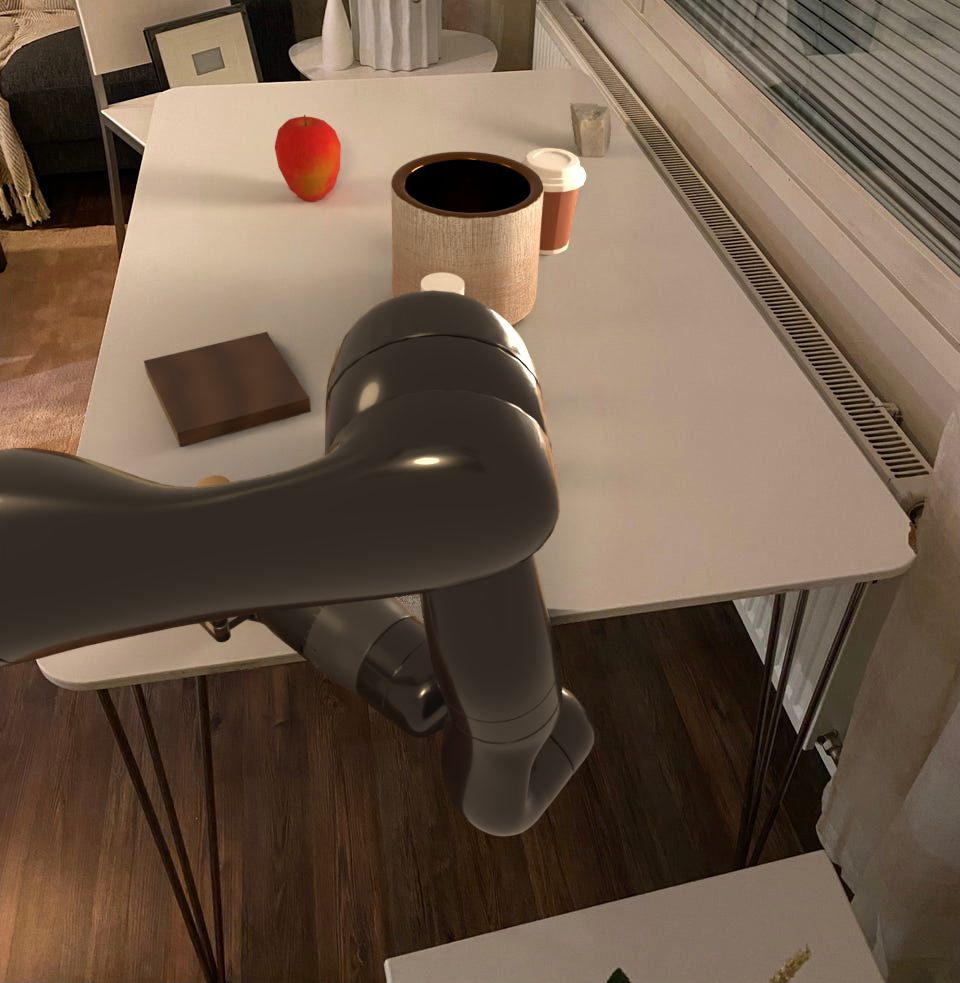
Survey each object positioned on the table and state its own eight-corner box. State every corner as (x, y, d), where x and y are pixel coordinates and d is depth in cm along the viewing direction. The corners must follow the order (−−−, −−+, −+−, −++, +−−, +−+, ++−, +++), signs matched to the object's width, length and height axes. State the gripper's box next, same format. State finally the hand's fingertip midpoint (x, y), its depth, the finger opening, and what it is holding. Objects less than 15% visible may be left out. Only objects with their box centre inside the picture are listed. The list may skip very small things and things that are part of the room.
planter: (436, 356, 112) (437, 231, 101) (368, 285, 123) (363, 166, 112) (562, 318, 119) (576, 197, 108) (488, 254, 130) (493, 139, 119)
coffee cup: (588, 238, 134) (598, 153, 126) (561, 266, 128) (570, 179, 120) (528, 222, 137) (535, 138, 129) (500, 248, 131) (505, 163, 123)
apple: (356, 197, 141) (352, 115, 133) (308, 217, 136) (300, 132, 128) (315, 177, 145) (309, 96, 137) (267, 195, 140) (257, 112, 132)
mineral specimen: (554, 140, 157) (569, 90, 152) (604, 151, 159) (620, 102, 154) (562, 157, 152) (578, 106, 147) (613, 168, 154) (631, 118, 149)
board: (180, 447, 98) (177, 433, 97) (146, 373, 107) (143, 360, 106) (311, 411, 103) (309, 397, 102) (268, 344, 112) (266, 331, 111)
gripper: (412, 538, 73) (267, 443, 81) (266, 651, 65) (119, 533, 73) (413, 604, 78) (277, 508, 86) (277, 716, 70) (139, 599, 78)
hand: (205, 520), depth 79 cm, fingers open, 6 cm apart
